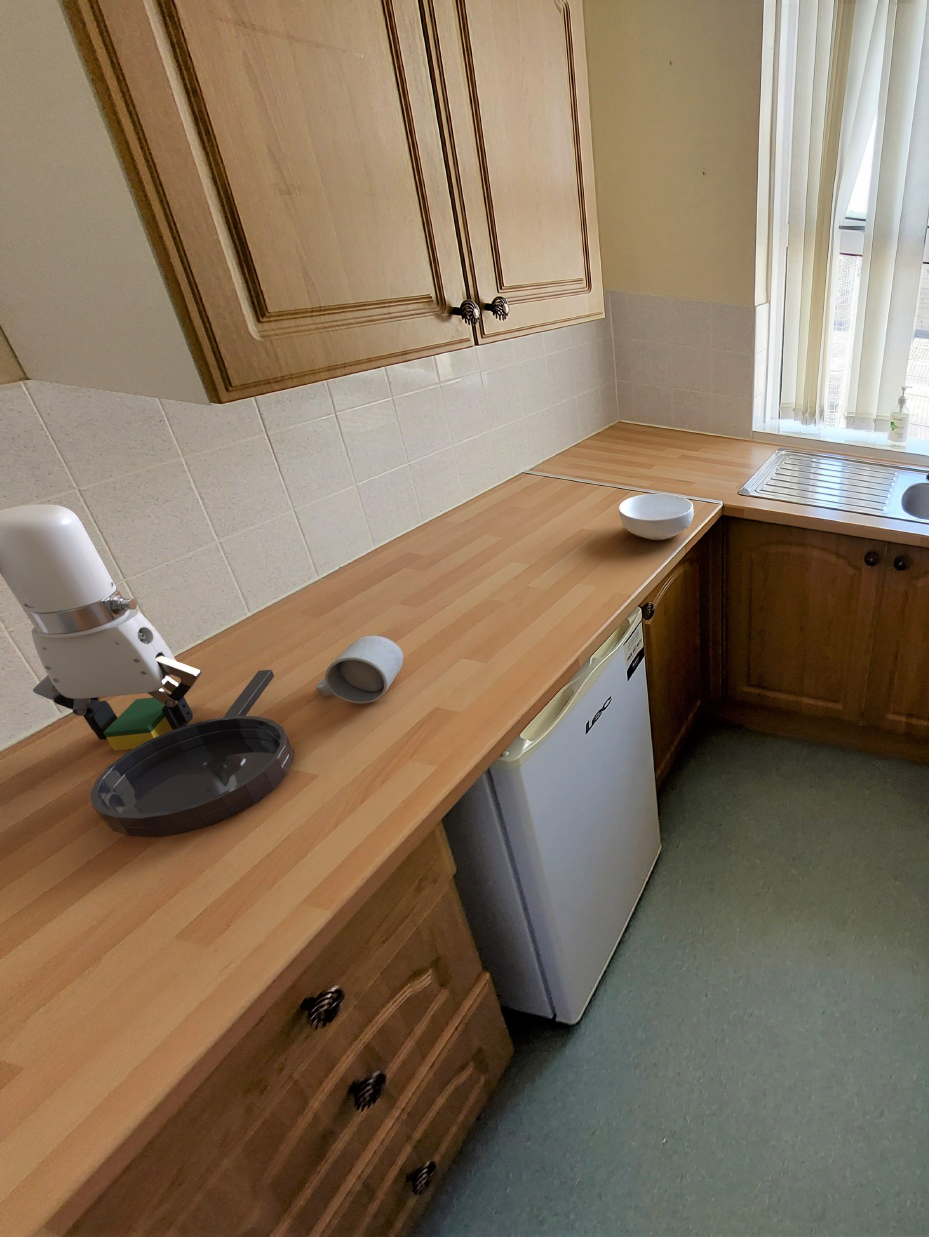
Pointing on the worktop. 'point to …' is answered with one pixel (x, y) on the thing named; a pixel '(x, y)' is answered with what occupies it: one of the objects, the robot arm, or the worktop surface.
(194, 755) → the pan
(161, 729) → the sponge
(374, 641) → the ceramic mug
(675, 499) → the cereal bowl
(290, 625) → the worktop surface
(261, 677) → the pan handle
